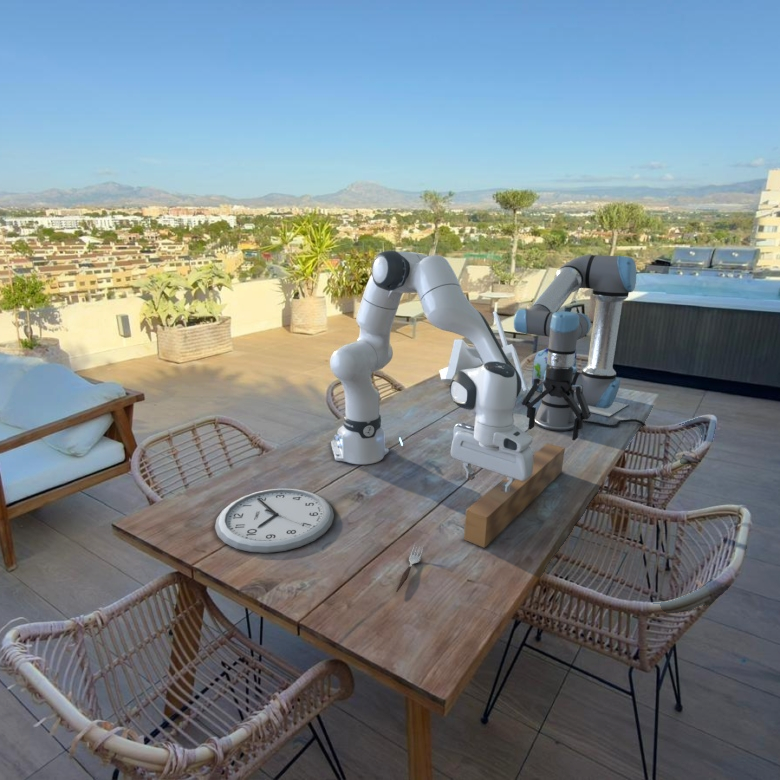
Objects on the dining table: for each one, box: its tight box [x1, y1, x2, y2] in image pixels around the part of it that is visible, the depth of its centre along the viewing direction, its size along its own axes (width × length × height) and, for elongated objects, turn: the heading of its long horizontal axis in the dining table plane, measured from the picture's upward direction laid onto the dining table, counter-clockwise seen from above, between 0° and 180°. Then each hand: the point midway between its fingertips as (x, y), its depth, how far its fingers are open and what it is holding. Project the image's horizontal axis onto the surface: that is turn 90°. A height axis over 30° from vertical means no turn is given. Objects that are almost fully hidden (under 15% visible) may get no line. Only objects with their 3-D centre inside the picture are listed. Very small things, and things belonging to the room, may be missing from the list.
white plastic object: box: [438, 310, 530, 396], centre depth 245 cm, size 37×45×31 cm
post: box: [463, 443, 566, 548], centre depth 145 cm, size 52×6×8 cm, turn 143°
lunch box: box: [531, 347, 577, 394], centre depth 245 cm, size 26×11×21 cm, turn 134°
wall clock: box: [214, 488, 335, 554], centre depth 135 cm, size 30×2×30 cm
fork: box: [395, 543, 425, 593], centre depth 115 cm, size 3×16×2 cm, turn 160°
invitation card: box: [577, 401, 629, 418], centre depth 226 cm, size 21×1×15 cm
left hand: (487, 484), depth 126 cm, fingers open, 8 cm apart
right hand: (552, 433), depth 159 cm, fingers open, 13 cm apart
